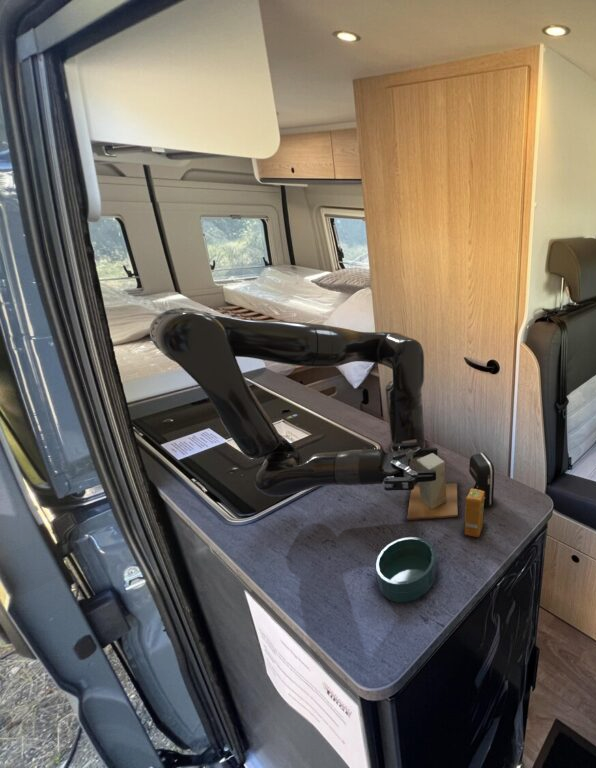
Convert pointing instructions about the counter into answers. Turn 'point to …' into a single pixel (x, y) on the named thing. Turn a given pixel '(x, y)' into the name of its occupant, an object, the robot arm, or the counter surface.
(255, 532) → the counter surface
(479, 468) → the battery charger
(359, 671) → the counter surface
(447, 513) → the plate
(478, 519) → the supplement box
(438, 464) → the box
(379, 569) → the pot
